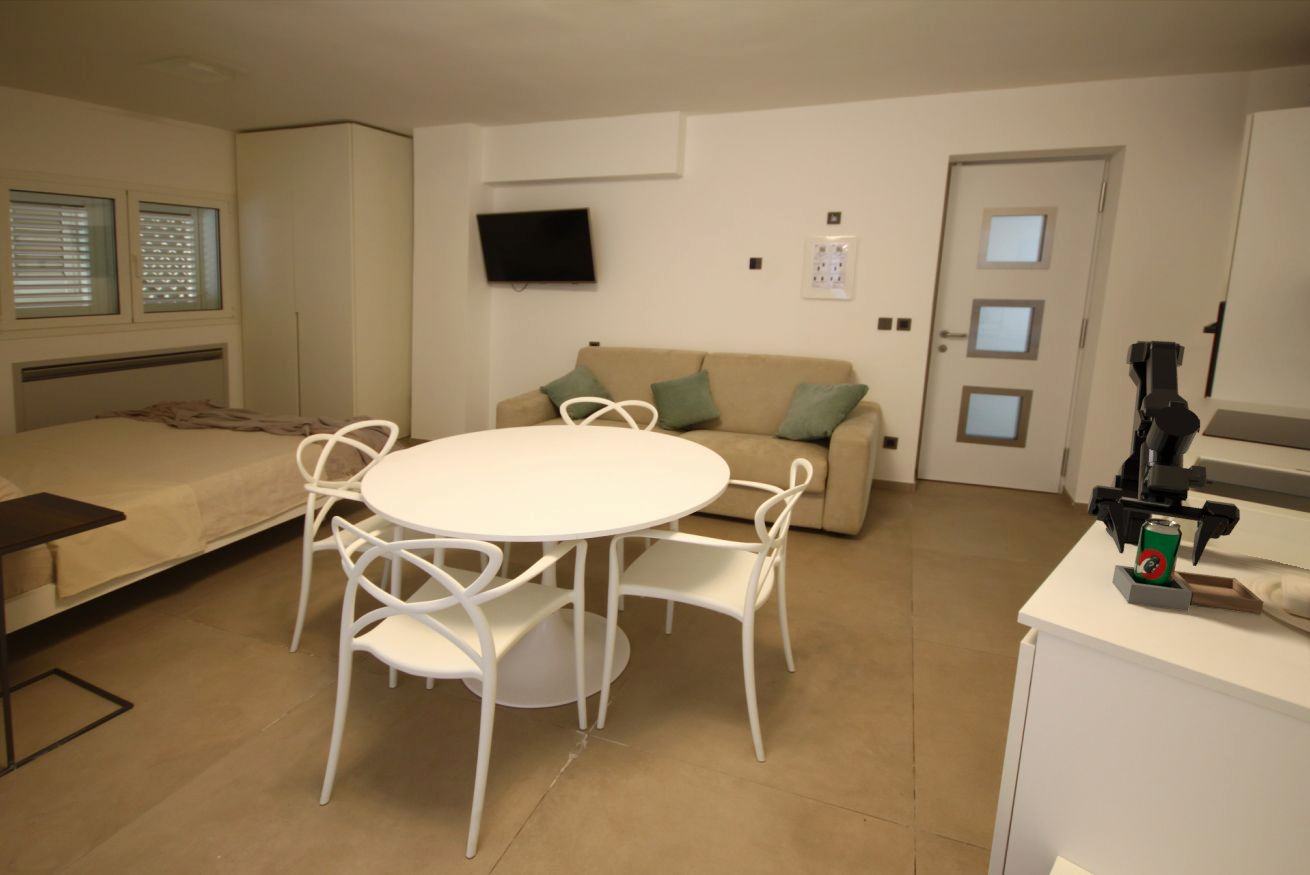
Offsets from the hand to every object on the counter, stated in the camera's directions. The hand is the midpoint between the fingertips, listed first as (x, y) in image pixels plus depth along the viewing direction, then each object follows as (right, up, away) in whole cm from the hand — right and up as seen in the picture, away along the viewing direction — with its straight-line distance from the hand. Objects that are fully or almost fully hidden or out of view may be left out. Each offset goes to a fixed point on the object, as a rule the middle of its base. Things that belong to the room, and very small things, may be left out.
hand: (1157, 558), depth 107 cm
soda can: (+1, -6, +3) cm, 7 cm away
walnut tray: (+10, -6, +3) cm, 13 cm away
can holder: (+1, -6, +3) cm, 7 cm away
